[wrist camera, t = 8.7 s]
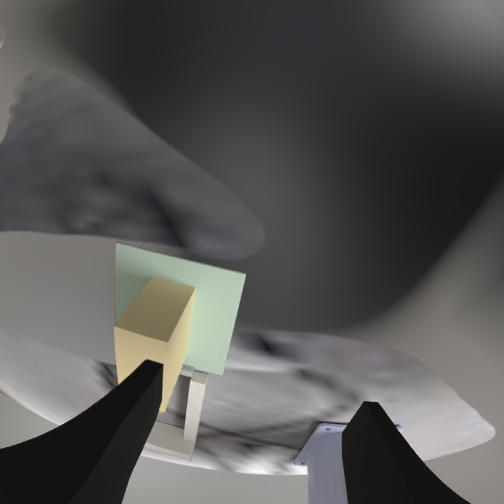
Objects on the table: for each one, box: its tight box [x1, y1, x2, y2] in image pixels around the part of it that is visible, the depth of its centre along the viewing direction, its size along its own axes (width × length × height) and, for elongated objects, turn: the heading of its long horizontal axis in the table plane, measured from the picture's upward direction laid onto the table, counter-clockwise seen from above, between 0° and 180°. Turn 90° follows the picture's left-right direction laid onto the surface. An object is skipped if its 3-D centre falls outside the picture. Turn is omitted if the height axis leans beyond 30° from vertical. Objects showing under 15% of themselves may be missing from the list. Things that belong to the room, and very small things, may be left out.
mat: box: [115, 242, 246, 375], centre depth 21 cm, size 9×9×1 cm
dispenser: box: [144, 364, 208, 461], centre depth 23 cm, size 7×11×3 cm, turn 168°
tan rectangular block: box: [114, 277, 196, 413], centre depth 18 cm, size 3×6×6 cm, turn 168°
